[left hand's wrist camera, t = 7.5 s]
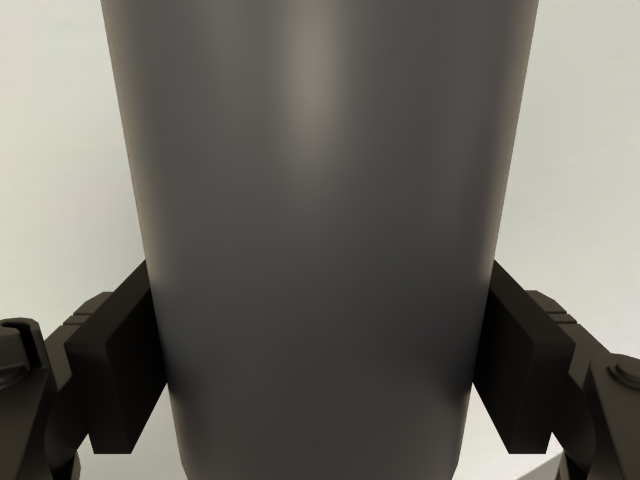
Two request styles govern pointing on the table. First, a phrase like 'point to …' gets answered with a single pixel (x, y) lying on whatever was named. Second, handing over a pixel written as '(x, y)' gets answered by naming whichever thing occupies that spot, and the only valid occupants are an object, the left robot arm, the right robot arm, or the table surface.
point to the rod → (319, 221)
